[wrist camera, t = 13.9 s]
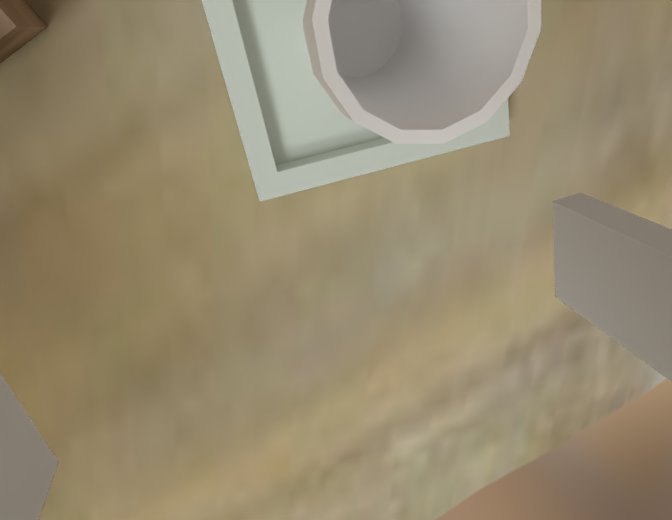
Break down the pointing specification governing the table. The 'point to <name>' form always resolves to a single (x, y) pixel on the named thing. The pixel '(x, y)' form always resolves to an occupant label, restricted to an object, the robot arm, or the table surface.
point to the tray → (301, 104)
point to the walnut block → (17, 26)
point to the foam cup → (420, 61)
